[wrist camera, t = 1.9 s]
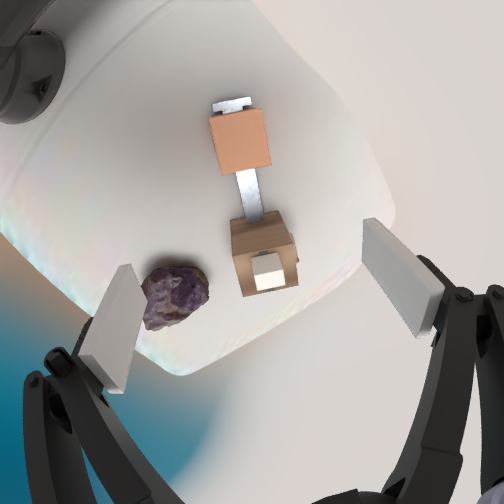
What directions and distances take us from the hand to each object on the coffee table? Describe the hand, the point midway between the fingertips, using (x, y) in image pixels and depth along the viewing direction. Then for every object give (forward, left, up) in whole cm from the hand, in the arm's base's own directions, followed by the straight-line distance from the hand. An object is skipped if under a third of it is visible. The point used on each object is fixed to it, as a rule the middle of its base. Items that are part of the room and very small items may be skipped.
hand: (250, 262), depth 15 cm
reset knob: (+9, +1, -14) cm, 17 cm away
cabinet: (+11, +1, -24) cm, 27 cm away
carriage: (-4, +1, -24) cm, 25 cm away
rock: (+16, -14, -25) cm, 32 cm away
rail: (0, +1, -24) cm, 24 cm away
